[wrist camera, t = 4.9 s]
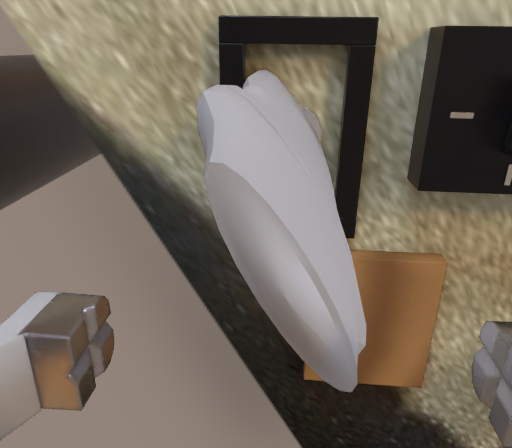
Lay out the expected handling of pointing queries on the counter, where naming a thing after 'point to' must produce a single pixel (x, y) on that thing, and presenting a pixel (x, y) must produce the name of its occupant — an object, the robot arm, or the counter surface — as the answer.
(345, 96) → the black rectangular frame
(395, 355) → the oak board
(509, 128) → the knob
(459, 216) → the counter surface
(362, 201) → the counter surface
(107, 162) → the counter surface
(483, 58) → the panel
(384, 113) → the counter surface
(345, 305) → the tall pale column
